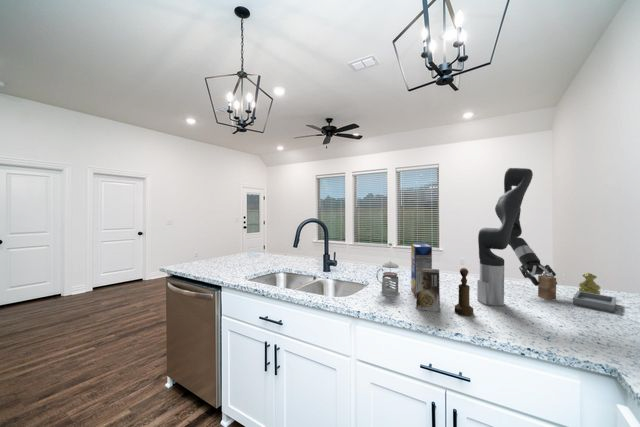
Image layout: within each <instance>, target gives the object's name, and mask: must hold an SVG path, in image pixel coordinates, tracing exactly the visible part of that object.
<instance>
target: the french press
mask: <svg viewBox="0 0 640 427" xmlns="http://www.w3.org/2000/svg"><path fill="white" fill-rule="evenodd" d="M388 246H389V247H391V246H393V244H392V242H390V243H388ZM382 267H383V268H387V269H397V268H399V265H398V264H397V263H395V262H391V261H388V262H386V263H385V262H384V263H383V264H381V268H379V269H378V270H377V271H376V276H375V277H376V280H377V282H379V283H380V284H381V290H380V294H381V295H382V296H387V297H398V296H400V295H401V292H400V291H399V276H398V273H397V272H393V271H385V272H384V269H383V268H382ZM380 271H381V272H383V273H382V274H383V275H382V278H381V279H382V281H380V280H379V278H378V277H379V272H380Z"/></svg>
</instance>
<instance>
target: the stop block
mask: <svg viewBox="0 0 640 427" xmlns="http://www.w3.org/2000/svg"><path fill="white" fill-rule="evenodd" d="M537 277H538V278H537V281H538V282H539V285H538V286H537V297H538V298H541V299H543V300H546V301H548V300H549V301H550V300H551V301H552V299H556V300H557V285H556V282H557V277H556V276H554V277H551V276H549V275H548V276H542V275H538V276H537Z"/></svg>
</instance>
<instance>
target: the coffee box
mask: <svg viewBox="0 0 640 427" xmlns="http://www.w3.org/2000/svg"><path fill="white" fill-rule="evenodd" d="M415 298H416V301H415V302H416V305H415V306H416V309H418V310H423V311H424V310H425V311H432V312H440V311H441V310H440V309H441V308H440V307H441V305H440V300H441V295H440V269H439V268H438V269H436V268H432V269H426V268H417V270H416V297H415Z"/></svg>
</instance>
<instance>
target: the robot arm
mask: <svg viewBox="0 0 640 427" xmlns="http://www.w3.org/2000/svg"><path fill="white" fill-rule="evenodd" d="M533 176H534V173H533V170H532V169H530V168H526V167H525V168H524V167H523V168H522V167H509V168H507V169H506V171H505V172H504V179H503V188H504V189H503V190H504V191H503V193H504V194H502V195H501V196H500V197H499V198H498V200H497V202H496V205H495V208H494V210H495V215H496V216H497V218H498V219H499V221H500V223H501V226H499V228H495V227H482V228H481V229H480V230H479V231H478V235H477V239H478V240H477V241H478V242H477V244H478V258H479V278H478V279H477V280H476V281H477V285H476V286H477V289H476V290H477V291H476V292H477V294H476V295H477V296H476V297H477V299H476V300H477V301H478V302H480V303H482V304H484V305H487V306H493V307H495V306H496V307H502V306H504V305H505V259H504V258H503V257H502V256H499V255H497V254H495V253H494V252H493V251H492V250H501V251H502V250H505V249H506V248H507V247H508V245H509V246H510V248H511V249H512V250H513V252H514V254H515V256H516V258H517V259H518V260H519V262H520V264H521V266H519V271H520V272H521V274H522V276H523V278H524V279H529V280H530V281H531V283H532V284H533V285H534V286H535V287H538V285H539V282H538V278H536V277H535V276H537V275H538V276H551V277H556V275H557V273H555V271H554V270H553V269H552V267H551V266H550V265H548V264H546V265H543V264H541V260H540V258H539V257H538V256H537V254H536V252H534V250H533V249H532V248H531V247H530V245H529V244H528V242H527V241H526V240H525V239H524V238H523V237H521V235H522V234H523V233H522V232H523V230H522V226H521V219H520V218H521V212H522V211H521V209H522V208H521V207H522V204H523V200H524V196H525V194H526V192H527V190H528V188H529V187H530V184H531V182H532V179H533ZM512 187H514V188H512ZM557 284H558V282H557V281H556V286H557Z"/></svg>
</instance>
